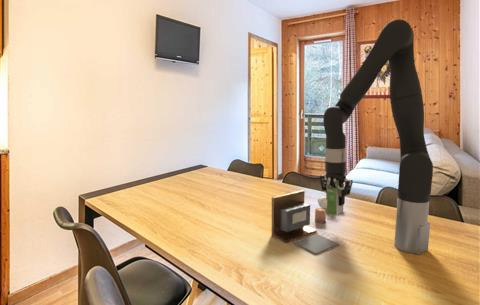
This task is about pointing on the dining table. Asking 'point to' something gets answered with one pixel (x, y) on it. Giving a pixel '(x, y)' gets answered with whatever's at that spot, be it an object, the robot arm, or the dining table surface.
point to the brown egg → (320, 215)
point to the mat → (316, 244)
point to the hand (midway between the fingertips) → (335, 203)
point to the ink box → (333, 200)
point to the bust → (322, 202)
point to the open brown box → (290, 217)
